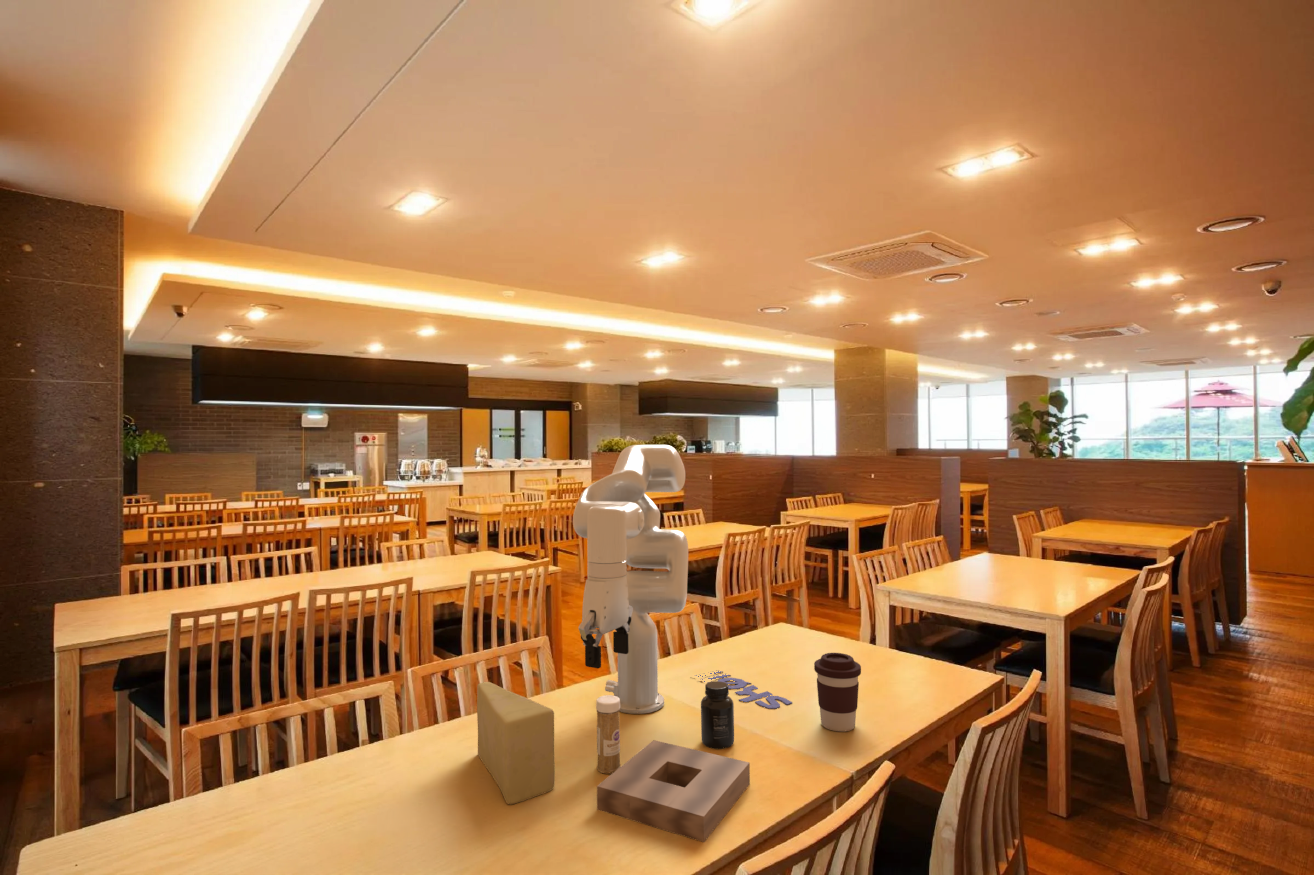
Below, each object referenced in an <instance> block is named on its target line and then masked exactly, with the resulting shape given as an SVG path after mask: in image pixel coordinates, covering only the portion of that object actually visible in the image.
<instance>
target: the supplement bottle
mask: <svg viewBox="0 0 1314 875" xmlns="http://www.w3.org/2000/svg"><path fill="white" fill-rule="evenodd" d="M729 692H730V691H729V689H728V684H727V683H724V682H720V681H718V680H715V681H711V682H707V683H705V689H704V694H705V696H703V698H702V699H701V701H700V726H701V727H700V728H701V730H700V731H701V737H700V738H701V742H702V744H703V745H704V746H705V747H706V748H709V749H712V750H725V749H728V748H730V747H732V746H733V744H734V743H735V716H734V714H735V710H734V708H735V706H734V700H733V699H732V697H730V696H729V695H730V693H729Z"/></svg>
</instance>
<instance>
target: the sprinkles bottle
mask: <svg viewBox="0 0 1314 875" xmlns="http://www.w3.org/2000/svg"><path fill="white" fill-rule="evenodd" d="M595 704H596V705H595V709H596V715H597V716H596V717H597V718H596V719H597V720H596V723H597V724H596V753H597V764H596V769H597V771H598V772H599V773H602V774H606V775H608V774H609V775H610V774H612V773H614V772H615V771H616V770H617V769H619V768H620V767H621V762H620V759H621V757H620V756H621V755H620V753H621V734H620V731H621V730H620V711H619V709H620V699H619V698H618V697H617V696H614V694H613V695H612V694H608V695H607V694H606V695H605V694H604V695H600V696H599V697H598V698H596V703H595Z"/></svg>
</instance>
